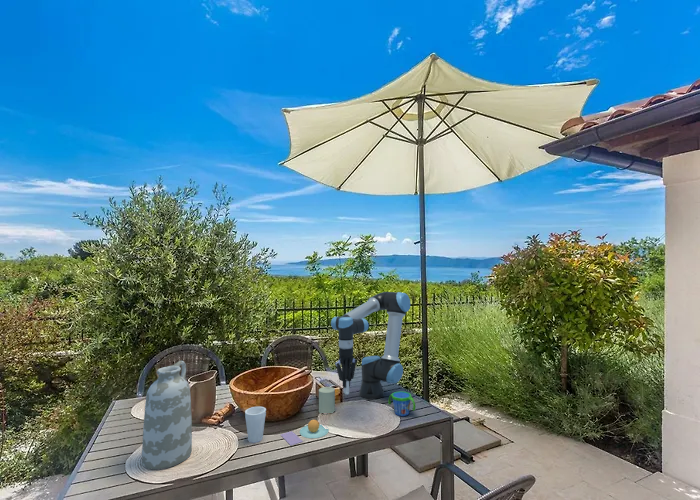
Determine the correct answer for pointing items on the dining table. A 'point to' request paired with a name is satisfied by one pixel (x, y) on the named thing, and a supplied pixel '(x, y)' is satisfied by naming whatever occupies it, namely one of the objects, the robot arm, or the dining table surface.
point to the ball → (313, 425)
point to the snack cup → (401, 402)
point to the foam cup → (255, 423)
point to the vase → (167, 420)
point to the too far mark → (291, 438)
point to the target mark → (317, 434)
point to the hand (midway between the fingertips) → (346, 393)
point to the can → (326, 400)
